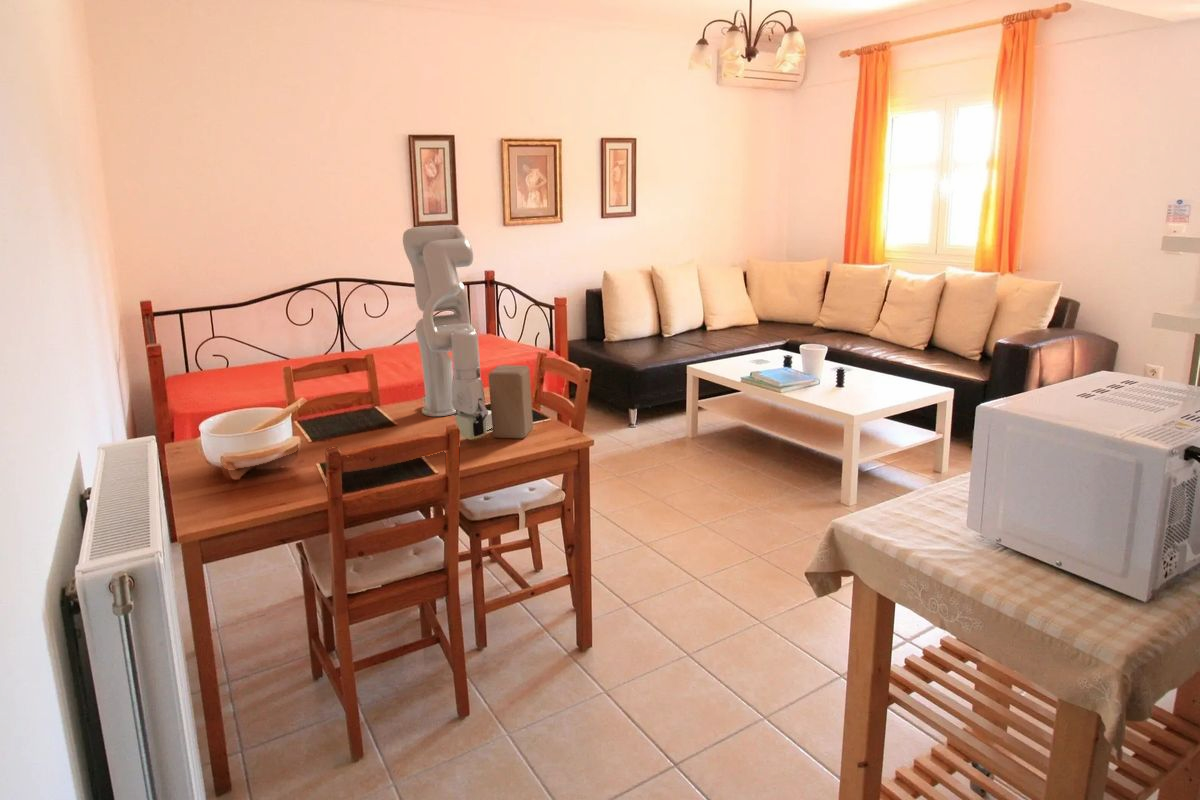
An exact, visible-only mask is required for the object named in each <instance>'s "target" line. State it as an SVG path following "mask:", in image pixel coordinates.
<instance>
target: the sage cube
mask: <svg viewBox="0 0 1200 800" xmlns="http://www.w3.org/2000/svg"><path fill="white" fill-rule="evenodd" d="M476 416H477V418H478V416H479V414H476ZM455 423H456V427H457V426H458V427H459V428H460V435H461V437H463V438H465V439H469V440H473V439H474V438H477V437H480V436H483V435H485V434H487V431H486V421H485V419H484V421H483V428H484V433H483V434H481V435H478V436H474V429H473V423H475V422H474V419H473V416H472V415H470V414H467V413H464V412H463V413H460V414H457V413H456V414H455ZM460 435H459V436H460Z"/></svg>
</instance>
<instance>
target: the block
mask: <svg viewBox="0 0 1200 800" xmlns="http://www.w3.org/2000/svg"><path fill="white" fill-rule="evenodd" d="M530 374H531V371H530V367H529V366H528V365H509V364H506V365H505V364H504V365H503V364H500V365H497V366H496V367H495V368H494V369H492V370H491V371H490V372H489V373H488V378H487V379H488V388H489V389H488V390H489V400H490V403H489V404H490V411H491V416H492V429H491V430H492V436H493V437H494V438H498V439H499V438H500V439H504V438H505V439H524V438H526V436H528V434H529V433H531V431H532V430H533V427H534V420H533V407H532V406H533V403H532V390H531V389H532V387H531V375H530Z"/></svg>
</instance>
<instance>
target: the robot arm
mask: <svg viewBox="0 0 1200 800" xmlns="http://www.w3.org/2000/svg"><path fill="white" fill-rule="evenodd" d="M402 244H403V245H402V246H403V250H404V253H405V255H406V257H407V260H408V261H409V264H410V265H411V268H412V275H413V283H414V291H415V292H414V293H415V299H416V304H417V306H418V309H419V310H420V311H421V312H422V318H421V319H419V320H418V321H417V322H416V323H415V335H416V339H417V342H418V347H419V352H420V357H421V358H420V359H421V367H422V368H421V369H422V376H423V384H424V394H425V397H422V398H421V401H422V402H423V403H424V404H425V406H423V407H422V408H421V413H422V414H423V415H425V416H429V417H447V416H452V415H454V414H455V415H457V414H460V413H463V412H464V413H467V414H470V415H472V416H473V419H474V422H475V423H473V429H474V436H478V435H480V436H482V435H481V434H483V433H484V428H483V421H484V419H485V418H486V416H487V415H488V411H487V410H488V409H487V408H486V398H485V391H484V386H483V381H482V378H481V377H482V376H481V375H482V374H481V363H480V362H481V361H480V347H479V336H478V335H479V334H478V333H477V331H476V328H474V327H473V325H472V324H471V318H470V308H469V307H470V305H469V299H468V293H467V289H466V287H465V285H464V283H463V282H462V281H460V279H459V276H458V272H457V268H466V267H469V266H472V263H473V261H474V253H473V248H472V245H471V243H470V241H469V239H468V238H467V236H466V235H465V234H464V232H463V231H462V230H461V228H459V226H457V225H455V224H442V225H423V226H422V225H421V226H414V227H411V228H407V229H406V230H405V231H404V232H403V235H402ZM445 311H452V312H453V313H451V314H450V313H449V314H440V315H434V313H436V312H445ZM448 352H451V355H450V353H448ZM476 414H479V416H478V418H477V416H476ZM483 435H484V434H483ZM478 437H479V436H478Z"/></svg>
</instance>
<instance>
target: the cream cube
mask: <svg viewBox="0 0 1200 800" xmlns="http://www.w3.org/2000/svg"><path fill="white" fill-rule="evenodd" d="M487 411H488V415H487V416H486V418H485V421H486V432H488V431H487V430H489V429H491V428H492V416H491V410H488V409H487ZM491 430H492V429H491ZM489 431H490V430H489Z"/></svg>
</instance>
